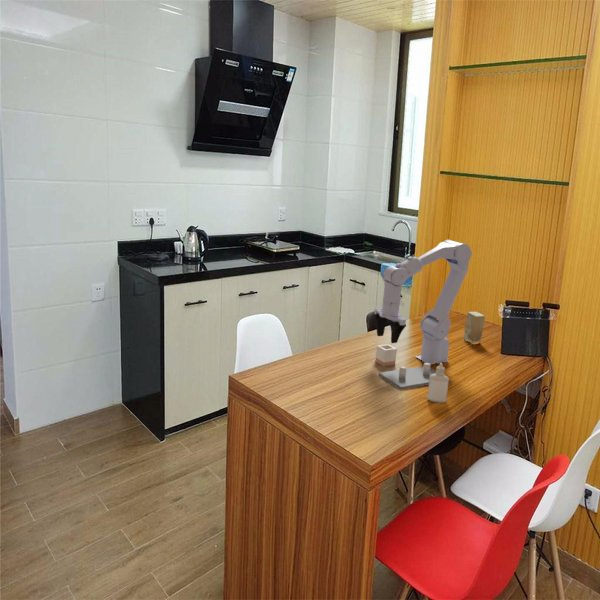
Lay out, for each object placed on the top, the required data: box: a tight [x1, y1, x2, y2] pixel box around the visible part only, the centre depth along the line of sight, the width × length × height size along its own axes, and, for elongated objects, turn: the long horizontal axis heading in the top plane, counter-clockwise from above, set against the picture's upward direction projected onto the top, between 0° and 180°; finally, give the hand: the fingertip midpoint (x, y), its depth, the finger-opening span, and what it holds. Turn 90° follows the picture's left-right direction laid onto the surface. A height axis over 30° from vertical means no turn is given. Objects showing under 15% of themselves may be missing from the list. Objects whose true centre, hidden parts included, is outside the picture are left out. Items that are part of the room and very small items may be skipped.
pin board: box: [378, 362, 450, 391], centre depth 179 cm, size 20×12×4 cm, turn 117°
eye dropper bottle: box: [426, 363, 450, 404], centre depth 163 cm, size 4×6×12 cm
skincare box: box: [463, 311, 486, 343], centre depth 219 cm, size 6×4×12 cm
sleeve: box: [375, 343, 398, 367], centre depth 192 cm, size 5×5×6 cm
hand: (387, 339), depth 188 cm, fingers open, 7 cm apart
